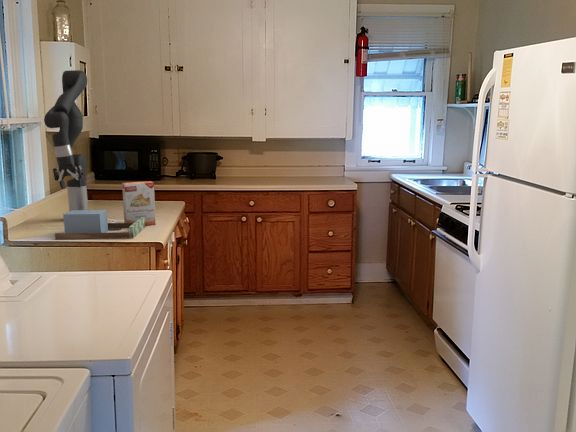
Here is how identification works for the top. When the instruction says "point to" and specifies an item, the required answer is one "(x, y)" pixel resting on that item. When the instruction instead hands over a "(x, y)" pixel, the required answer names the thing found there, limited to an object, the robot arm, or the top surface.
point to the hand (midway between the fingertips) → (71, 188)
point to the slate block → (85, 221)
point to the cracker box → (139, 202)
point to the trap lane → (133, 231)
